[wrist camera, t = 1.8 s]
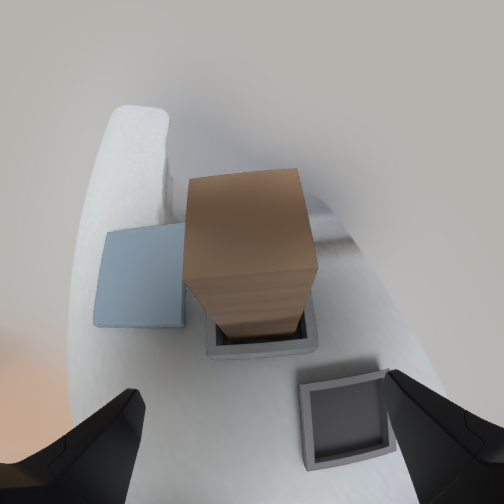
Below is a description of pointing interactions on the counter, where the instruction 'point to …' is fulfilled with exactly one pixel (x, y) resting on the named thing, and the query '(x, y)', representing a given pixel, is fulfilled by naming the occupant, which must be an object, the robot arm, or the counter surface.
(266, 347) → the sleeve
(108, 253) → the pad
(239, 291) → the walnut block
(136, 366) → the counter surface
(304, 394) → the tray
